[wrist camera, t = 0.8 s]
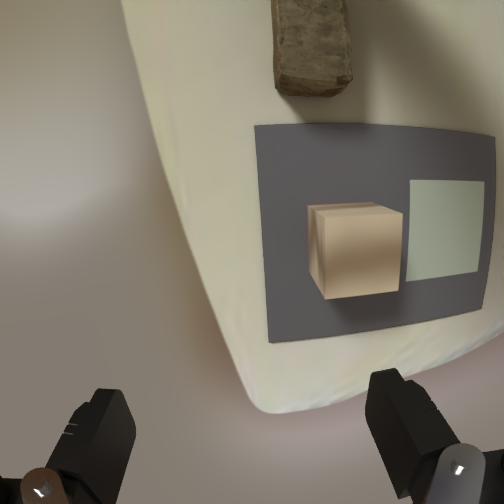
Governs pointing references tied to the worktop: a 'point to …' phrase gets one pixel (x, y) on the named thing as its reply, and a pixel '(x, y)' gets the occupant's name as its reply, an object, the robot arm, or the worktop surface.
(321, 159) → the rubber mat
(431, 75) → the worktop surface
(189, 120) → the worktop surface
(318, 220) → the maple cube
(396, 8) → the worktop surface
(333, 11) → the stone block
